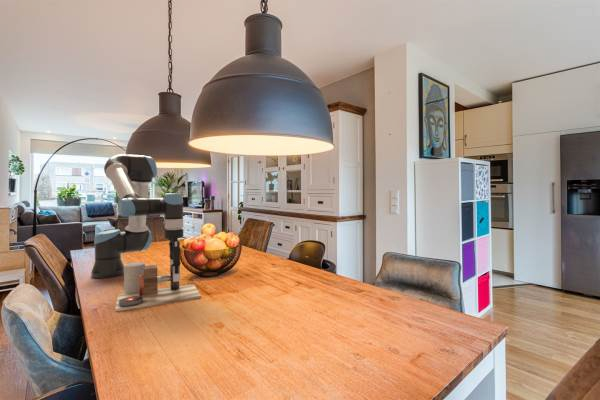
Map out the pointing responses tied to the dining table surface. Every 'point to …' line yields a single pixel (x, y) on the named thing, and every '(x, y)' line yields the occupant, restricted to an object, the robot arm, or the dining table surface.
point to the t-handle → (169, 279)
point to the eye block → (158, 292)
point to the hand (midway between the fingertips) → (175, 277)
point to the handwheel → (134, 299)
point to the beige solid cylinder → (132, 276)
